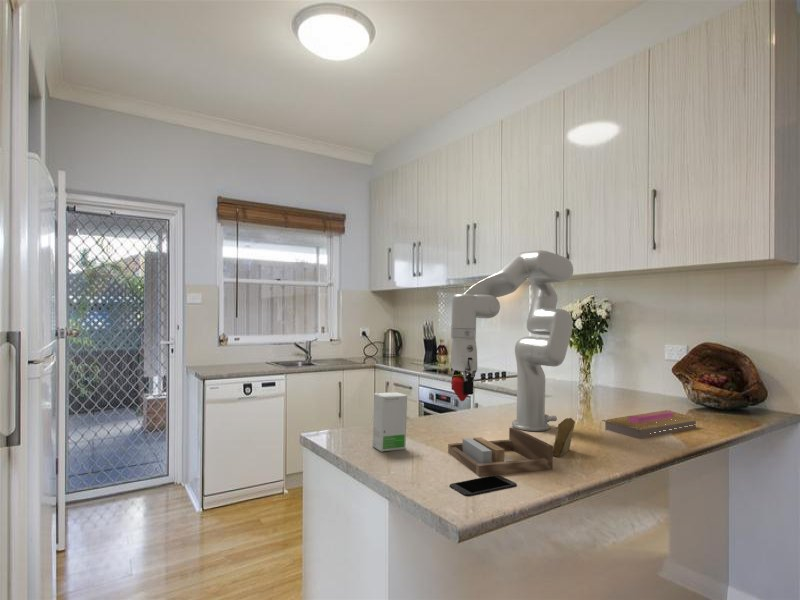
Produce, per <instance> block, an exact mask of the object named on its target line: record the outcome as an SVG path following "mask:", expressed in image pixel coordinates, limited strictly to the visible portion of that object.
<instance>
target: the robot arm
mask: <svg viewBox="0 0 800 600" xmlns="http://www.w3.org/2000/svg"><path fill="white" fill-rule="evenodd" d="M573 265H574V264H572V261H571V260H570V259H568V257H565V256H562V255H559V254H557V253H554V252H552V251H548V250H541V249H540V250H531V251H522V252H519V253H517V254H515V255H514V256H513V257H512V258H511V259H510V260H509V261H508V262H506V263H505V265H504V266H502V267H501V269H499V270H498V271H497V272H496V273H494V274H491V275H489V276H488V277H486V278H484V279H481V280H480V281H478V282H477V283H475V284H473V285H472V286H470V287H469V288H468V289H467V290H466V291H465V292H463V293H458V294H457V293H455V294H454V295H453V296H452V298H451V327H450V328H451V331H450V332H451V333H450V334H451V335H450V338H451V340H452V341H451V350H450V363H449V365H450V368H451V369H450V371H451V374H450V376H451V380H452V379H453V378H454V377H457V376H454V375H458V374H461V372H462V375H463V376H464V381H463V395H468V396H470V395H474V382H475V378H476V373H477V372H478V346H477V341H476V340H477V339H476V338H477V319H493V318H494V317H496V316H498V314H499V312H500V310H501V304H500V301H499V299H498V298H500V297H504V296H505V297H506V296H508V295H510V294H512V293H514V292H516V290H518V289H519V288H520V287H521V286H522V284H523V283H524V282H525V281H526V280H528V281H529V283H530V285H531V288H532V293H533V297H532V301H531V304H530V307H529V308H530V309H529V312H528V316H527V319H526V329H527V331H528V332H530V334H533V335H536V336H523V337H521V338H519V339H518V340H517V341H516V343H515V346H514V354H515V360H516V361H515V362H516V369H517V370H516V371H517V373H516V374H517V378H516V384H517V385H516V419H515V420H512V422H511V426H512V428H513V427H514V428H516V429H518V430H520V431H527V432H544V431H549V429H550V424H549V422H556V421H558V418H557V416H556V415H549V414H546V375H545V371H544V370H543V367H542V366H545V367H552V368H553V367H559V366H560V365H562V364H563V362H564V360H566V359H565V358H566V356H567V352H568V349H569V343H570V340H571V337H572V332H573V317H572V316H571V313H570V312H569V311H568V310H567V309H563V308H557V304H558V293H557V292H556V289H554V287H553V286H552V284H551V283H564V282H567V281H569V280H570V279H571V278H572V277H573V274H574V266H573ZM537 335H538V336H537ZM542 336H548V337H542ZM451 390H452V391H454V390H453V389H452V388H451Z"/></svg>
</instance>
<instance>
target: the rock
mask: <svg viewBox="0 0 800 600" xmlns="http://www.w3.org/2000/svg"><path fill="white" fill-rule="evenodd" d="M575 426H576V421H575V420H574V419H573V418H572V417H567V418H564V419H563V420H562V421H561V422H559V423H558V425H557V431H556V434H555V439H554V444H553V445H552V446H553V457H554V456H555V457H557V458H560V457H561V456H563V455H564V454H566V453H567V452H568V451H570V448H571V445H572V442H571V441H572V438H573V433H574V430H575Z"/></svg>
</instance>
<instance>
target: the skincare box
mask: <svg viewBox="0 0 800 600" xmlns="http://www.w3.org/2000/svg"><path fill="white" fill-rule="evenodd" d="M407 411H408V395H407V394H404V393H400V392H374V393H373V420H372V421H373V422H372V425H373V426H372V447H373V448H375V449H376V450H377V451H379V452H380V453H381V452H388V451H389V452H390V451H398V450H406V448H407V446H406V444H407V443H406V441H407V416H408V415H407Z"/></svg>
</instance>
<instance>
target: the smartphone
mask: <svg viewBox="0 0 800 600" xmlns="http://www.w3.org/2000/svg"><path fill="white" fill-rule="evenodd" d="M517 486H518V484H517V482H515V481H512V480H510V479H508V478H506V477H504V476H501V475H500V474H497V475H487V476H482V477H479V478H474V479H473V478H472V479H469V480H468V479H467V480H464V481H457V482H453V483H452V482H451V483H450V484H449V488H450V489H452V490H453V491H456V492H457V493H459V494H460V495H462V496H464V497H473V496H478V495H483V494H488V493H492V492H496V491H497V492H498V491H502V490H506V489H512V488H516V487H517Z"/></svg>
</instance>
